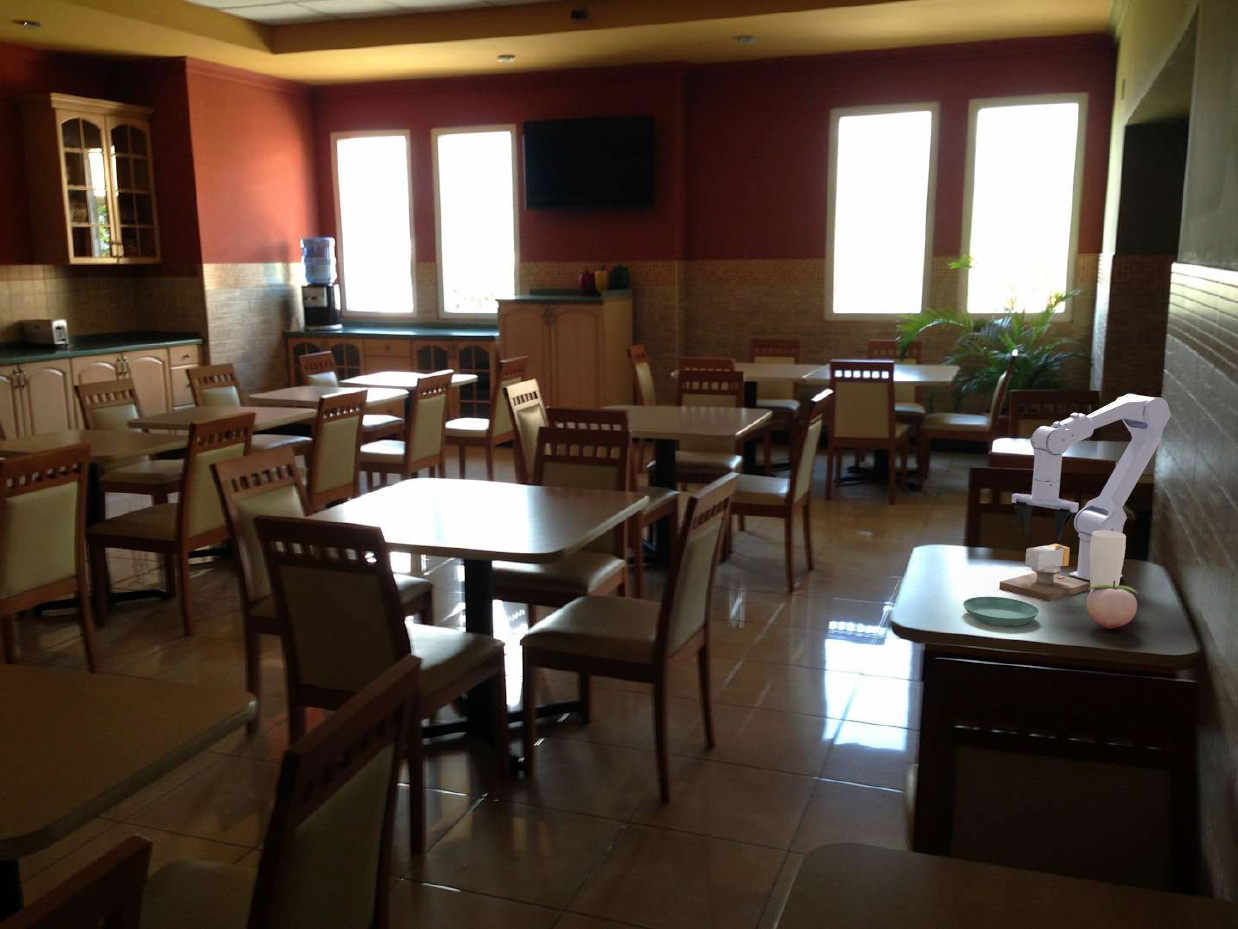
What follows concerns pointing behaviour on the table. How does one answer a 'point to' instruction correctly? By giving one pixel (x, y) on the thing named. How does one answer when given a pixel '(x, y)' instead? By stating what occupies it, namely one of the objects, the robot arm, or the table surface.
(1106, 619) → the decorative fruit
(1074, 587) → the mount plate
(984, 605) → the saucer
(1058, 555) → the grey and orange block
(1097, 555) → the drinking glass
